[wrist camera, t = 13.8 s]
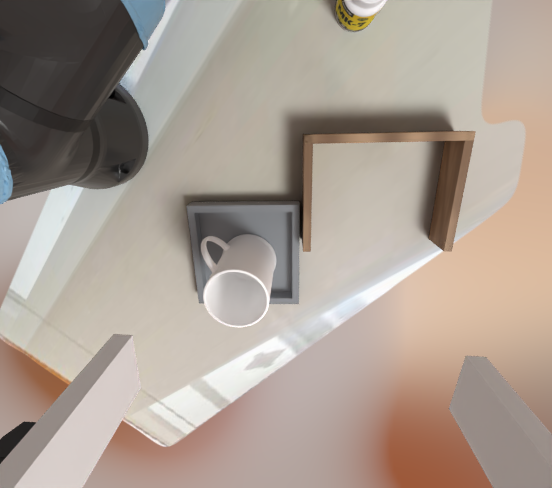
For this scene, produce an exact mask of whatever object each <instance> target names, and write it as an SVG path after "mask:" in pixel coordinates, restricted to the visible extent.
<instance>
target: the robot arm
mask: <svg viewBox="0 0 552 488" xmlns="http://www.w3.org/2000/svg"><path fill="white" fill-rule="evenodd" d="M164 11H165V0H0V204H3V202H6V201H8V200H12V199H16V198H20V197H24V196H28V195H31V194H35V193H39V192H43V191H47V190H50V189H54V188H58V187H62V186H66V185H73V186H79V187H84V188H89V189H106V188H111V187H114V186H117V185H120V184H123V183H125V182H127V181H129V180H130V179H132V178H133V177H134V176H135V175H136V174H137V173H138V172H139V170H140V169H141V167H142V166H143V164H144V162H145V159H146V156H147V151H148V131H147V126H146V122H145V119H144V117H143V114H142V112H141V110H140V108H139V107H138V105H137V103H136V102H135V100H134V99H133V98H132V96H131V95H130V94H129V93H128V92H127V91H126V90H125V89H124V88H123V87H122V86H120V85H119V84H118V83H119V82H120V80H121V79H122V77H123V76H124V74H125V73H126V71H127V70H128V69H129V67H130V66H131V64H132V63H133V61H134V60H135V58H136V57H137V55H138V54H139V53H140V51H141V50H142V49H143V50H146V48H147V46H148V40H149V38H150V36H151V35H152V33H153V32H154V30H155V28H156V27H157V25H158V23H159V22H160V20H161V19H162V17H163V15H164ZM140 389H141V385H140V379H139V372H138V366H137V360H136V354H135V348H134V342H133V335H121V334H113V336H112V337H111V338H110V339H109V340H108V341H107V342H106V344H105V345H104V346H103V347H102V348H101V349H100V350H99V352H98V353H97V354H96V355H95V356H94V357H93V358H92V360H91V361H90V362H89V363H88V364H87V365H86V366H85V368H84V369H83V370H82V371H81V372H80V373H79V374H78V376H77V377H76V378H75V379H74V380H73V381H72V383H71V384H70V385H69V386H68V387H67V388H66V389H65V391H64V392H63V393H62V394H61V395H60V396H59V397H58V399H57V400H56V401H55V402H54V403H53V404H52V405H51V407H50V408H49V409H48V410H47V411H46V412H45V413H44V415H43V416H42V417H41V418H40V419H39V420H38V422H37V423H36V422H23V423H21V424H20V425H19V426H17V427H16V428H15V429H13V430H12V431H10V432H9V433H8V434H6V435H5V436H3V437H2V438H1V439H0V488H82V487H83V486H84V484H85V482H86V481H87V479H88V477H89V476H90V474H91V472H92V470H93V469H94V467H95V465H96V464H97V462H98V460H99V458H100V457H101V455H102V453H103V452H104V450H105V448H106V447H107V444H108V443H109V441H110V440H111V438H112V436H113V434H114V433H115V431H116V429H117V428H118V426H119V424H120V422H121V421H122V419H123V418H124V416H125V414H126V412H127V411H128V409H129V407H130V406H131V404H132V402H133V401H134V399H135V397H136V395H137V394H138V392H139V390H140ZM449 410H450V411H451V413H452V415H453V417H454V419H455V420H456V422H457V424H458V426H459V428H460V429H461V431H462V433H463V435H464V436H465V438H466V440H467V442H468V443H469V445H470V447H471V449H472V451H473V452H474V454H475V456H476V458H477V460H478V461H479V463H480V465H481V467H482V469H483V470H484V472H485V474H486V476H487V478H488V479H489V481H490V483H491V485H492V486H493V488H552V434H551V433H550V432H549V430H548V429H547V428H546V427H545V426H544V425H543V423H542V422H541V421H540V420H539V419H538V418H537V416H536V415H535V414H534V413H533V412H532V411H531V409H530V408H529V407H528V406H527V405H526V404H525V402H524V401H523V400H522V399H521V398H520V396H519V395H518V394H517V393H516V392H515V390H514V389H513V388H512V387H511V386H510V385H509V384H508V382H507V381H506V380H505V379H504V378H503V376H502V375H501V374H500V373H499V372H498V371H497V369H496V368H495V367H494V366H493V365H492V363H491V362H490V361H489V360H488V359H487V358H486V357H479V356H465V360H464V363H463V366H462V369H461V372H460V376H459V379H458V382H457V385H456V388H455V391H454V395H453V397H452V401H451V404H450V407H449Z"/></svg>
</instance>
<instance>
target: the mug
mask: <svg viewBox="0 0 552 488" xmlns="http://www.w3.org/2000/svg"><path fill="white" fill-rule="evenodd" d="M207 241H212V242H214V243H216V244H218V245H219V246H221V247H222V248H223V249H224V250H223V253H222V256H221V258H220V260H219V262H218V264H217V265H216V264H215V263H214V261H213V260H212V258H211V257H210V255H209V253H208V250H207V246H206V242H207ZM201 252H202V255H203V258H204V260H205V262H206V264H207V265H208V267H209V268H210V270H211V271H212V274H211V276H210V278H209V280H208V282H207V283H206V286H205V288H204V292H203V300H204V304H205V307H206V309H207V311H208V312H209V314H210V315H211V316H212V317H213V318H214V319H216V320H217V321H218V322H220V323H222V324H224V325H227V326H231V327H246V326H250V325H253V324H255V323H256V322H258V321H259V320H261V319H262V318H263V316H264V315H265V314H266V312H267V310H268V307H269V301H270V294H271V286H272V279H273V272H274V270H275V267H276V254H275V251H274V249H273V248H272V246H271V245H270V244H269V243H268V242H267V241H266V240H265V239H263V238H261V237H259V236H256V235H252V234H244V235H239V236H237V237H235V238H233V239H231V240H230V241H229V242H228V243H225V242H224V241H222V240H221V239H219V238H217V237H214V236H208V237H206V238H204V239H203V241H202V243H201Z"/></svg>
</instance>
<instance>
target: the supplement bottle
mask: <svg viewBox="0 0 552 488" xmlns="http://www.w3.org/2000/svg"><path fill="white" fill-rule="evenodd" d="M386 1H387V0H337V2H336V7H335V15H336V19H337V22H338V23H339V25H340V26H341V27H342V28H343V29H344V30H346V31H349V32H359V31H361V30H363V29H364V28H366V27H367V26H368V25H369V24H370V23H371V21H372V20H373V19H374V18H375V16H376V15H377V14H378V12H379V11H380V10H381V9H382V7H383V6H384V5H385V3H386Z"/></svg>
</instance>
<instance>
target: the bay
mask: <svg viewBox="0 0 552 488" xmlns="http://www.w3.org/2000/svg"><path fill="white" fill-rule="evenodd" d="M475 132H476V131H433V132H386V133H339V134H303V196H302V244H303V252H310V251H311V203H312V156H313V144H317V143H368V142H418V141H445V143H444V149H443V155H442V161H441V167H440V173H439V179H438V185H437V191H436V197H435V203H434V209H433V215H432V221H431V227H430V233H429V240H431V241H432V242H433V243H434V244H436V245H437V246H438V247H439V248H441V249H442V250H443V251H452V247H453V242H454V237H455V232H456V227H457V222H458V217H459V212H460V207H461V202H462V197H463V192H464V187H465V182H466V177H467V172H468V167H469V162H470V157H471V152H472V147H473V142H474V137H475Z"/></svg>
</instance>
